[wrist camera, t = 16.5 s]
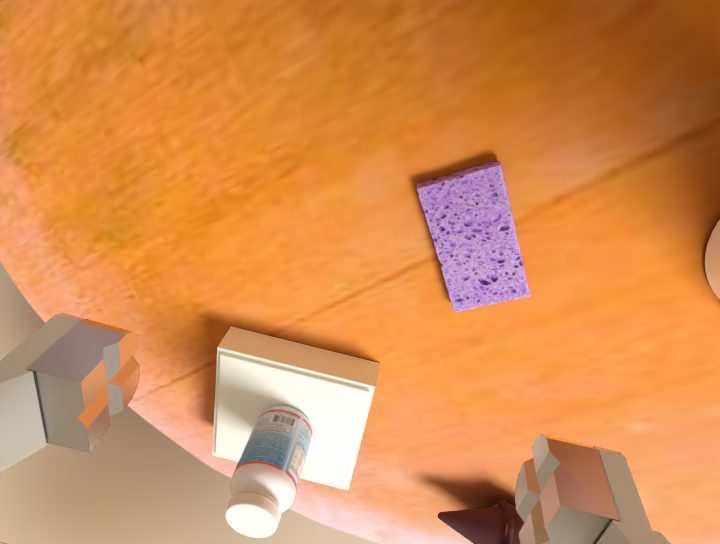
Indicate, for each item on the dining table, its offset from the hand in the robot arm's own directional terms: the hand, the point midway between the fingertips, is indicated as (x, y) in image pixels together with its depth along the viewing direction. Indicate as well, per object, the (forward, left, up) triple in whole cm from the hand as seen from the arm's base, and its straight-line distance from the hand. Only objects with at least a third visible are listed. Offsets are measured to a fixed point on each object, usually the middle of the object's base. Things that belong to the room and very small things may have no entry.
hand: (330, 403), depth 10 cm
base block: (+6, +35, -34) cm, 49 cm away
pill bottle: (+6, +35, -30) cm, 47 cm away
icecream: (-20, +44, -34) cm, 59 cm away
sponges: (-7, +11, -35) cm, 37 cm away
